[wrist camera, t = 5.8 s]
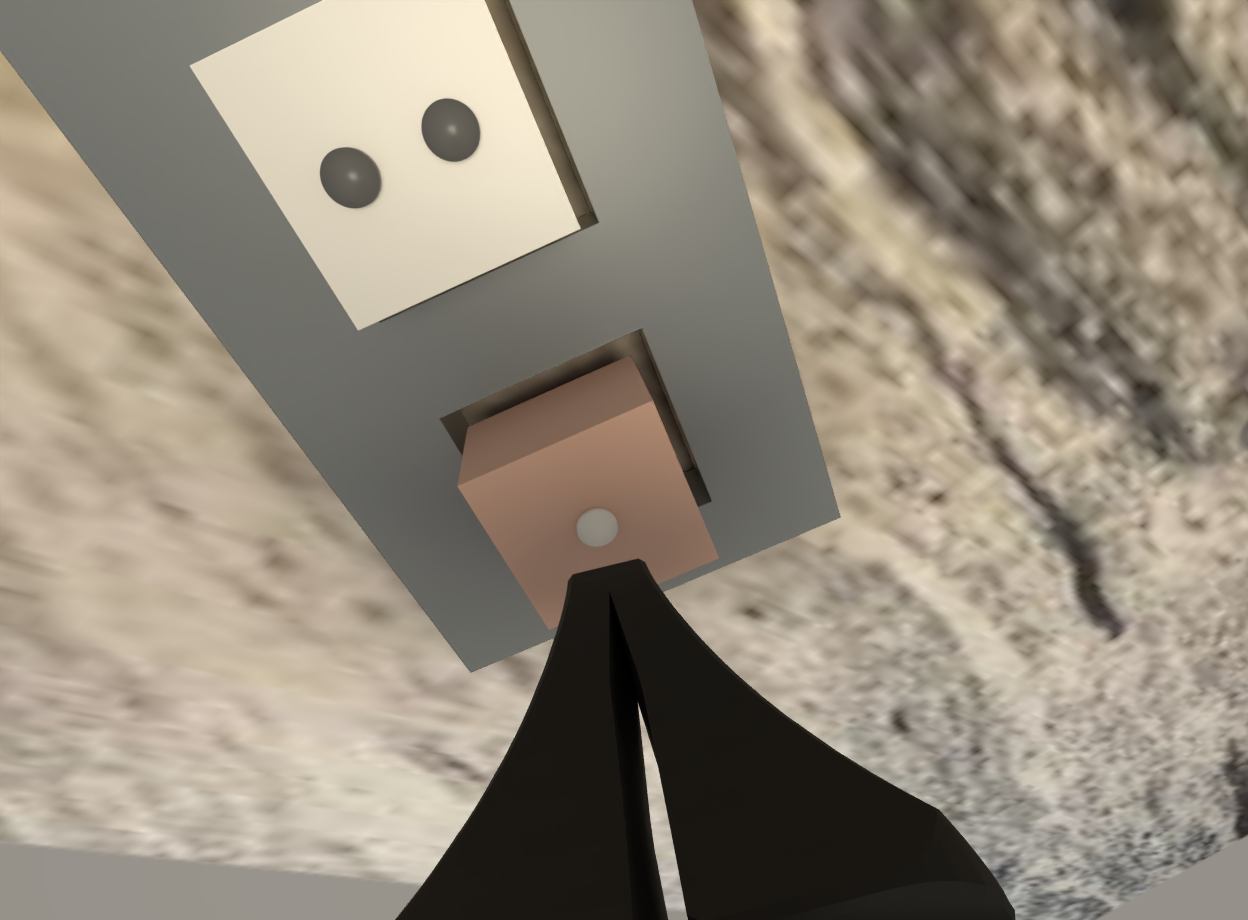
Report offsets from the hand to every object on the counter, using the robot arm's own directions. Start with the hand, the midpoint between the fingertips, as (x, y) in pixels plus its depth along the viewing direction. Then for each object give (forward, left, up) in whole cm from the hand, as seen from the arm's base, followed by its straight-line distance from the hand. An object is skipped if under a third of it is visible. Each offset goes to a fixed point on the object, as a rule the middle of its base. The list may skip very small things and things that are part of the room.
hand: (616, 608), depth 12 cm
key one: (0, 0, -6) cm, 6 cm away
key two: (0, +8, -6) cm, 10 cm away
